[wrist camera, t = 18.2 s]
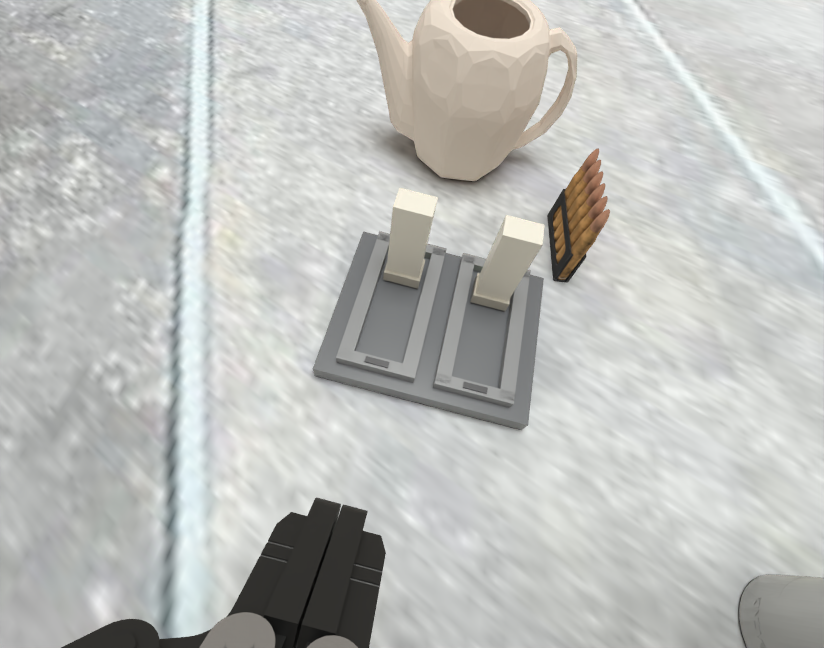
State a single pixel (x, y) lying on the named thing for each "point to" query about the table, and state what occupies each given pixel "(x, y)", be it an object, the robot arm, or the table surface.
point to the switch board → (434, 336)
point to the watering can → (469, 80)
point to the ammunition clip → (577, 219)
